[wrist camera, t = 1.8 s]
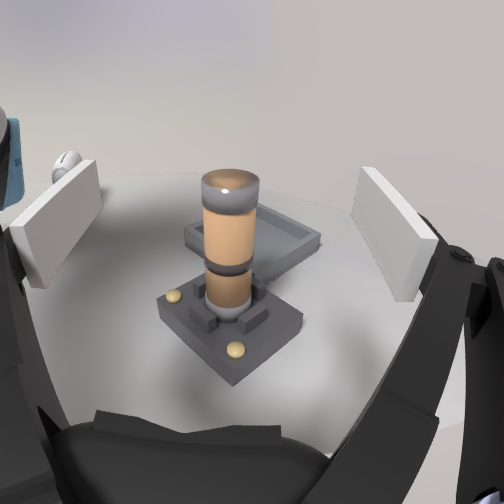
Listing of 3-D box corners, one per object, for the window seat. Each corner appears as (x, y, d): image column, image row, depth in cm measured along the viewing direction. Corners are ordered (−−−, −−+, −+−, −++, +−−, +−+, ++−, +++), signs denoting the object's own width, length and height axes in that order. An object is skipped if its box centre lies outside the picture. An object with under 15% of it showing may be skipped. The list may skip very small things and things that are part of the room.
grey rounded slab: (72, 205, 57) (61, 147, 50) (91, 203, 58) (82, 144, 51) (60, 231, 49) (45, 165, 42) (82, 228, 50) (69, 161, 43)
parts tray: (185, 245, 47) (184, 228, 46) (251, 215, 56) (252, 200, 54) (253, 293, 40) (254, 274, 38) (317, 250, 48) (321, 233, 46)
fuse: (197, 305, 33) (189, 177, 25) (229, 286, 36) (232, 165, 28) (226, 330, 30) (228, 196, 22) (259, 308, 33) (271, 180, 25)
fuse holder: (160, 318, 35) (154, 286, 32) (225, 281, 41) (225, 250, 38) (232, 386, 28) (233, 357, 26) (299, 332, 35) (306, 301, 32)
